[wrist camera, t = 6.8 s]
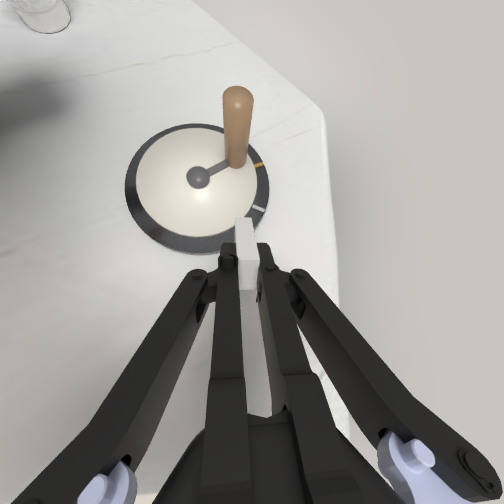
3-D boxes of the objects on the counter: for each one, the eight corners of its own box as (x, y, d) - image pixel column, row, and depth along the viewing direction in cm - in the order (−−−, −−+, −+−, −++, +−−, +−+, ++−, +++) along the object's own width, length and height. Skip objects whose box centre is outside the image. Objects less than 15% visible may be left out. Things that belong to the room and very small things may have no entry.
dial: (140, 242, 25) (82, 212, 15) (138, 134, 28) (89, 50, 18) (262, 232, 27) (280, 200, 17) (249, 132, 30) (258, 56, 20)
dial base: (101, 176, 28) (93, 169, 26) (212, 110, 32) (211, 100, 31) (187, 284, 26) (184, 284, 25) (293, 200, 31) (297, 195, 29)
